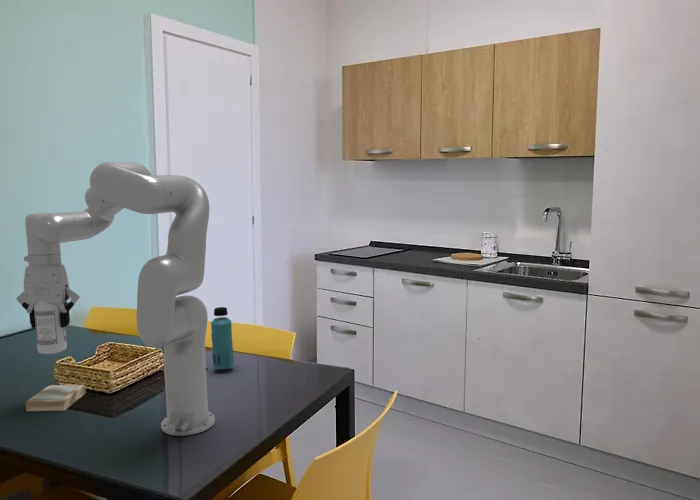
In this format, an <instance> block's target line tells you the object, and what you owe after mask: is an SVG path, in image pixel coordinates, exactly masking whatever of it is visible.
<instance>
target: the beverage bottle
mask: <svg viewBox="0 0 700 500" xmlns="http://www.w3.org/2000/svg"><path fill="white" fill-rule="evenodd" d="M228 313H229V312H228V308H227V307H226V306H220V307H219V306H218V307H214V309H213V316H215V318H214V319H212V320H211V322H210V325H211V328H210V329H211V335H210V336H211V344H212V345H211V347H212V348H211V350H212V366H213V368H214V369H217V370H226V369H230V368H232V367H233V366H234V364H235V363H234V362H235V360H234V344H233V343H234V342H233V332H232V330H233V328H232V320H231V319H230V318H229V317H226V316H227V315H229V314H228Z"/></svg>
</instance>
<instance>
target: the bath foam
mask: <svg viewBox="0 0 700 500" xmlns="http://www.w3.org/2000/svg"><path fill="white" fill-rule="evenodd" d="M60 313H62V311H61V309H60V308H59V306H58V305H57V304H48V303H46V302H44V301H41V302H39V303H38V304H36V305H34V315H35V334H36V337H35V338H36V347H37V348H36V349H37V352H38V353H39V354H42V355H52V354H58V353H61V352H64V351H65V350H67V347H68V344H67V332H66V329H67V328H66V327H64V328H62V327H61V324H60Z"/></svg>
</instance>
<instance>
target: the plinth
mask: <svg viewBox="0 0 700 500" xmlns="http://www.w3.org/2000/svg"><path fill="white" fill-rule="evenodd" d="M86 393H87V391H86V384H50V385H48V386H46V387H45V388H43V389H42V390H40V391H39V392H37V393H36V394H34V395H33V396H32V397H31V398H29V399H27V400H26V401H25V402H24V404H25V412H45V411H46V412H53V411H54V412H58V411H59V412H60V411H61V412H64V411H66V410H67V409H68V408H70V407H71V406H72V405H73V404H75V403H76V402H77V401H79V399H81V398H82V397H83V396H85V395H86Z"/></svg>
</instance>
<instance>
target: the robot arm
mask: <svg viewBox="0 0 700 500" xmlns="http://www.w3.org/2000/svg"><path fill="white" fill-rule="evenodd" d="M89 185H90V187H89V188H88V189H87V190H86V192H85V195H84V200H85V205H86V206H87V208H85V209H84V210H81V211H70V212H69V211H68V212H58V213H57V212H56V213H50V212H42V213H41V212H38V213H37V212H36V213H29V214H28V215H26V217H25V219H24V220H25V221H24V222H25V234H26V245H27V255H26V256H23V261H24V262H27V263H28V266H25V271H24V277H23V292H21V293H20V294H19V295H18V296H17V297H16V301H17V302H18V303H19V304H20V305H21V307H22V308H24V310H25V311H26V313H27V314H28V315H29V323H30V325H31V329H36V327H35V315H34V305H36V304H38V303H39V302H41V301H44V302H46V303H48V304H57V305H58V306H59V308H60V309H61V311H62V313H60V324H61V327H62V328H64V327H65V328H66V327H68V326H69V325H70V322H71V318H70V317H71V316H70V311H71V310H72V308H74V306H75V305H76V304H77V302H78V301H79V299H81V297H80V295H79V294H77V293H76V292H75V291H73V290H72V289H71V288H70V283H69V279H68V274H67V269H66V267H65V264H62V253H61V244H63V243H69V242H76V241H83V240H84V241H85V240H89V239H92V238H94V237H95V236H97V235H99V234H101V233H102V232H104V231H105V230H107V229H108V228H109V227H110V226H111V225H112V224H113V222H114V219H115V216H116V215H117V214H118V213H119V212H121V211H122V210H123V209H125V210H129V211H131V212H132V211H133V212H136V213H139V214H142V215H143V214H144V215H156V214H168V213H174V214H175V216H174V218H173V220H172V222H171V225H170V227H169V229H168V234H167V248H166V253H165V254H164V255H159V256H155V257H153V258H150V259H149V260H148V261H145V263H144V264H143V266H142V268H141V269H140V272H139V275H138V280H137V295H136V300H137V301H136V329H137V334H138V336H139V338H140V339H141V341H142V342H143V343H144V344H146V345H147V346H149V347H152V348H162V347H164V351H163V352H164V353H163V363H164V364H163V365H164V381H165V383H164V384H165V396H166V397H165V398H166V399H165V401H166V414H167V417H164V418H163V420H162V421H161V422H160V429H161V431H162V432H163V433H165V434H167V435H169V436H174V437H175V436H176V437H177V436H179V437H181V436H182V437H183V436H191V435H197V434H199V433H202V432H206V431H207V430H210V428H212V427H213V426H215V425H214V424H215V423H216V417H215V415H214V413H212V412H211V411H209V402H208V384H207V383H208V382H207V381H208V380H207V364H206V362H207V361H206V359H207V358H206V336H207V328H208V321H209V320H208V319H209V316H208V309H207V307H206V305H205V303H204V302H203V301H202V300H201V299H200V298H198V297H196V296H193V295H183V294H187V293H191V292H192V291H195V290H197V289H198V288H200V287H201V286H202V284H203V282H204V278H205V266H206V265H205V264H206V254H207V253H206V251H207V250H206V249H207V232H208V225H209V219H210V200H209V198H208V195H207V193H206V191H205V189H204V188H203V186H202V185H200V183H198V182H197V181H196V180H194V179H193V178H191V177H187V176H184V175H179V174H177V175H176V174H174V175H172V174H167V175H164V174H163V175H162V174H161V175H157V174H156V175H155V174H153V175H152V172H151V171H150V170H149V169H148V168H147V167H146V166H144V165H143V164H141V163H138V162H132V161H128V162H127V161H122V162H121V161H105V162H102V163H99V164H98V165H97V166H96V167H94V169H93V170H92V171H91V173H90V178H89ZM68 300H69V301H68Z"/></svg>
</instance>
